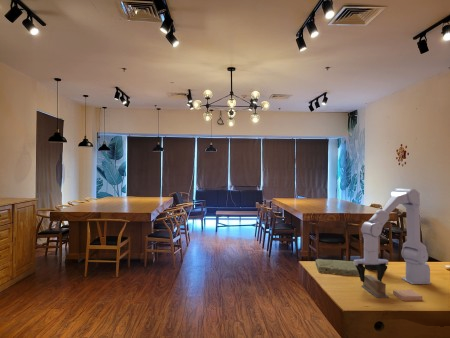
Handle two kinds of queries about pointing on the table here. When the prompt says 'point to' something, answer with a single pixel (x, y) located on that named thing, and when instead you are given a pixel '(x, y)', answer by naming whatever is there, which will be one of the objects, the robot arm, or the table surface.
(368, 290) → the mat
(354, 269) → the decorative tile
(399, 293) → the tile
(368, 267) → the travel mug
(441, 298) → the table surface
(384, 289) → the brown wooden plank
